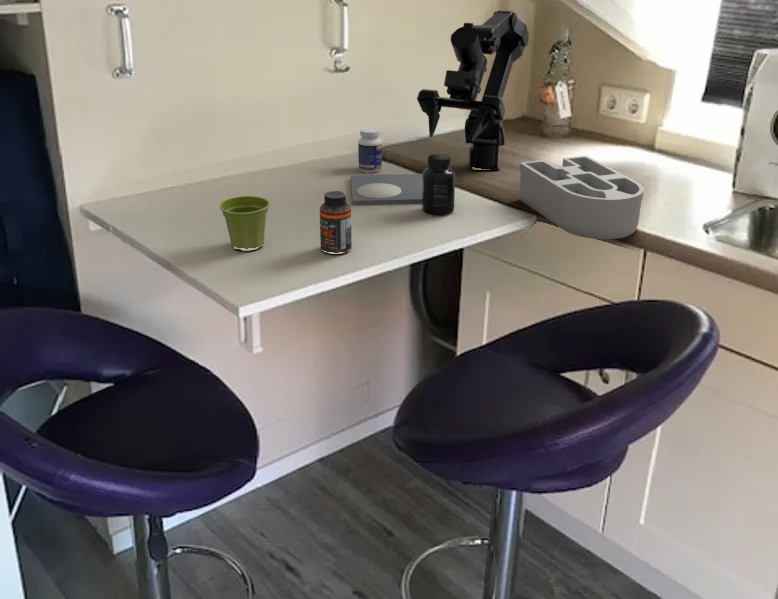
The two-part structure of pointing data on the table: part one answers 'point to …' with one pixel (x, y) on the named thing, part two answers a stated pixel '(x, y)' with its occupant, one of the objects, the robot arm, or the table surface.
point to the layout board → (387, 189)
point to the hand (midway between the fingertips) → (450, 138)
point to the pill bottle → (370, 150)
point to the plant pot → (245, 220)
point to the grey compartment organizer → (582, 197)
